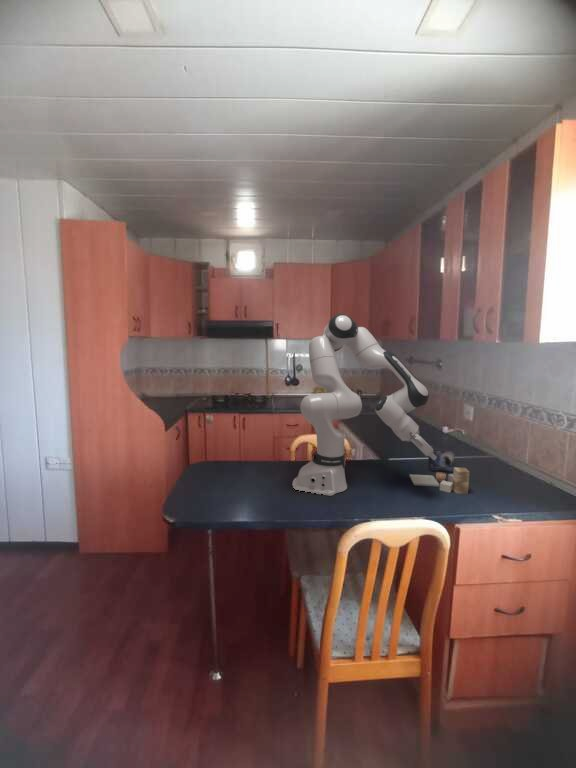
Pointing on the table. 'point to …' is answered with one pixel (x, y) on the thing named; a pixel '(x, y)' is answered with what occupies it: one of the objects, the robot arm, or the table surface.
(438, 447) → the dark purple camera
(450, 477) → the grey plastic block
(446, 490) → the off-white plastic block
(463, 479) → the beech block
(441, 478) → the terracotta puck
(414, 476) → the coaster
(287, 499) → the table surface
